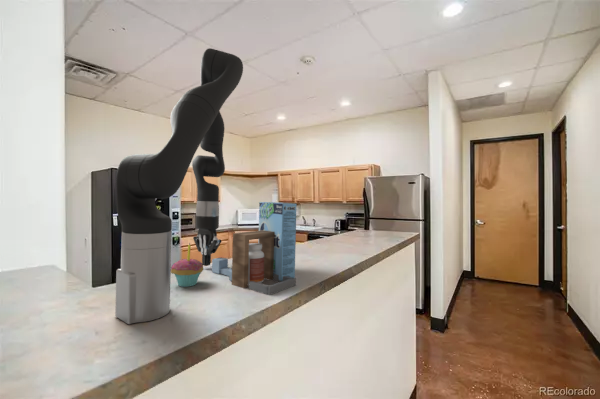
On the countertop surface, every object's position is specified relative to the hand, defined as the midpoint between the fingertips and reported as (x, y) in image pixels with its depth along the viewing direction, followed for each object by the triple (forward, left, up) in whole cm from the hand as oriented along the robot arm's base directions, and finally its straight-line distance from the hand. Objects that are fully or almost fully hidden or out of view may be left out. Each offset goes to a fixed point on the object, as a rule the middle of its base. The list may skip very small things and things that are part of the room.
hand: (206, 265), depth 99 cm
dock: (0, -30, -1) cm, 30 cm away
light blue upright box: (+10, -22, -1) cm, 24 cm away
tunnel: (0, -23, -1) cm, 23 cm away
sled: (0, -12, -1) cm, 12 cm away
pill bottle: (0, -23, -1) cm, 23 cm away
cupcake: (-14, -11, -1) cm, 18 cm away
